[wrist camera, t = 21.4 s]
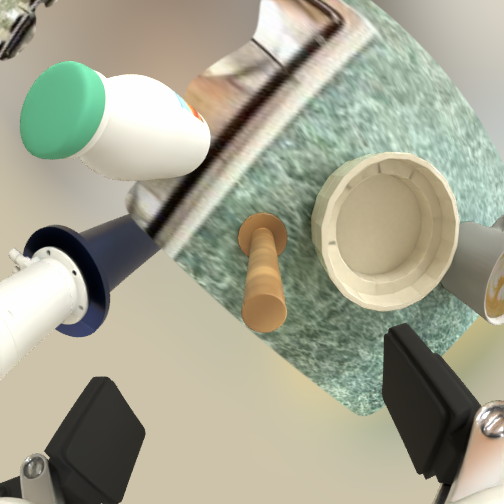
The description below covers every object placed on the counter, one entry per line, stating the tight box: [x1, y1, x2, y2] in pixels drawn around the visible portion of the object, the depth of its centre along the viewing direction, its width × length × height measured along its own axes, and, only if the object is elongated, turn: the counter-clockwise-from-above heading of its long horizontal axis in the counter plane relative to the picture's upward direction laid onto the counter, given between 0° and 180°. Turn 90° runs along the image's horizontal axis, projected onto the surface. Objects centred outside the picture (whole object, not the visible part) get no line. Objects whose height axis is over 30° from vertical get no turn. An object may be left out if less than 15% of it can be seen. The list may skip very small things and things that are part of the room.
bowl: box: [311, 152, 459, 312], centre depth 26 cm, size 15×15×6 cm
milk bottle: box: [20, 61, 210, 181], centre depth 18 cm, size 8×8×20 cm
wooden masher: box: [238, 212, 287, 333], centre depth 22 cm, size 5×5×17 cm
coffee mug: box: [441, 215, 504, 325], centre depth 25 cm, size 13×10×10 cm
